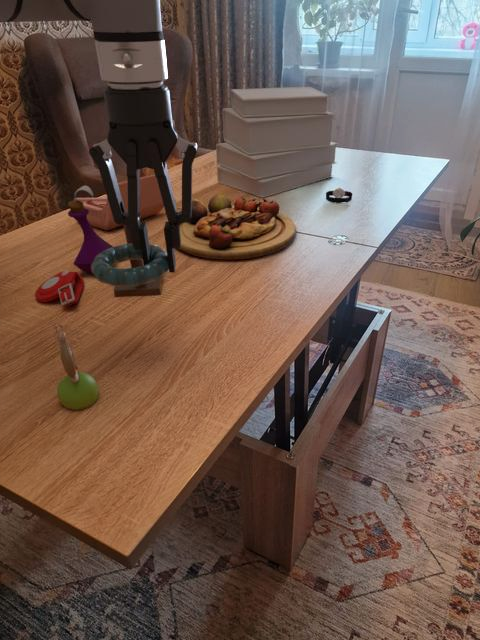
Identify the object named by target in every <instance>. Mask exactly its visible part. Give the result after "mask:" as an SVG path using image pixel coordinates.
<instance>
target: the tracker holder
mask: <svg viewBox="0 0 480 640" xmlns="http://www.w3.org/2000/svg"><path fill="white" fill-rule="evenodd" d="M84 286H85V283H84V278H83V277H82V276H81V275H80V273H79V272H78V271H69V270H65V271H60V272H58V273H56V274H54V275H52V276H51V277H50V278H48V279H46V280H45V281H44V282H42V283H41V284H40V285H39V286H38V287H37V288H36V290H35V292H34V298H35V299H36V300H37V301H38V302H40V303H47V302H51V301H53V300H56V299H57V298H59V300H60V305H61V306H62V307H63V306H67V307H71V306H72V305H74V304H77V303H78V301H79V299H80V297H81V294H82V291H83V289H84Z"/></svg>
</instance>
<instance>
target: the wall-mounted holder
mask: <svg viewBox="0 0 480 640" xmlns="http://www.w3.org/2000/svg"><path fill="white" fill-rule="evenodd" d="M118 186H119V190H120V193H121V197H122V201H123V204H124V208H125V210H128V180H124V181H119V182H118ZM75 198H76V200H79V201H81V202H83V205H84V208H86V209H88V211H89V213H88V214H87V220H88V222H89V224H90V225H91V227H93V228H94V227H95V228H98V229H101V230H104V231H110V230H113V229H116V228H119V227H122V226H124V224H116V223H115V221H114V219H113V215H112V212H111V208H110V205H109V201H108V198H107V197H74V198H73V200H75ZM164 209H165V208H164V204H163V200H162V197H161V193H160V189H159V185H158V181H157V178H156V176H155V173H153V174H149V175H146V176H140V216H141V218H140V220H142V219H145V218H147V217H150V216H153V215H157V214H159V213H160V212H161V211H163V210H164Z"/></svg>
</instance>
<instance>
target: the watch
mask: <svg viewBox="0 0 480 640" xmlns="http://www.w3.org/2000/svg"><path fill="white" fill-rule="evenodd" d="M352 198H353V193H352V192H351V191H348V190H344V188H342V187H337V188H335V189H334V190H328V191H326V192H325V200H326V201H327V202H330V203H334V202H336V203H335V204H342V203H341V202H346V203H349V202H351V201H352V200H353V199H352Z"/></svg>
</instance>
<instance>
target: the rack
mask: <svg viewBox="0 0 480 640" xmlns="http://www.w3.org/2000/svg"><path fill="white" fill-rule="evenodd" d="M125 211H126V212H127V213H128V210H125ZM123 229H124V234H125V240H126V244H130V243H132V238H131V232H130V228H129V227H128V226H127V225H123ZM129 262H130V268H136V267H140V266H144V265H143V259H142V260H129ZM164 276H165V274H164V275H162V276H161V277H160V278H158V279H157V280H155V281H153V282H149V283H146V284H142V285H139V286H123V287H117V286H114V288H113V294H114V297H117V298H118V297H139V296H160V295H161V293H162V288H163V283H164Z"/></svg>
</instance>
